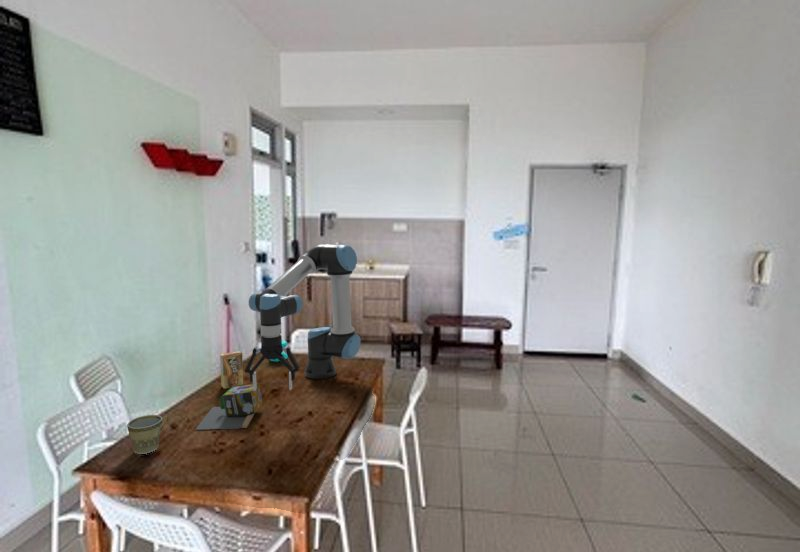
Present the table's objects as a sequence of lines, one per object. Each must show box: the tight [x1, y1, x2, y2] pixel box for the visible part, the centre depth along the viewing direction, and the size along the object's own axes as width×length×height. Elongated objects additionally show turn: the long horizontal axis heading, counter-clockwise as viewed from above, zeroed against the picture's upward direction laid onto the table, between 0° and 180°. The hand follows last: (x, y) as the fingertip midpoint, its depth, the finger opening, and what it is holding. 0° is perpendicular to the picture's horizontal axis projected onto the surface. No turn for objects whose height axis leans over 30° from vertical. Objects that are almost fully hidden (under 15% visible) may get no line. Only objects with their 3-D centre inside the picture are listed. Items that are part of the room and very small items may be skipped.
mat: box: [195, 406, 255, 431], centre depth 173 cm, size 18×20×2 cm
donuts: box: [269, 340, 289, 363], centre depth 246 cm, size 10×10×10 cm
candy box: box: [219, 350, 244, 390], centre depth 206 cm, size 9×4×15 cm, turn 129°
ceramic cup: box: [126, 414, 170, 455], centre depth 149 cm, size 13×10×10 cm
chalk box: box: [218, 383, 264, 417], centre depth 176 cm, size 9×9×15 cm
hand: (273, 389), depth 174 cm, fingers open, 13 cm apart
